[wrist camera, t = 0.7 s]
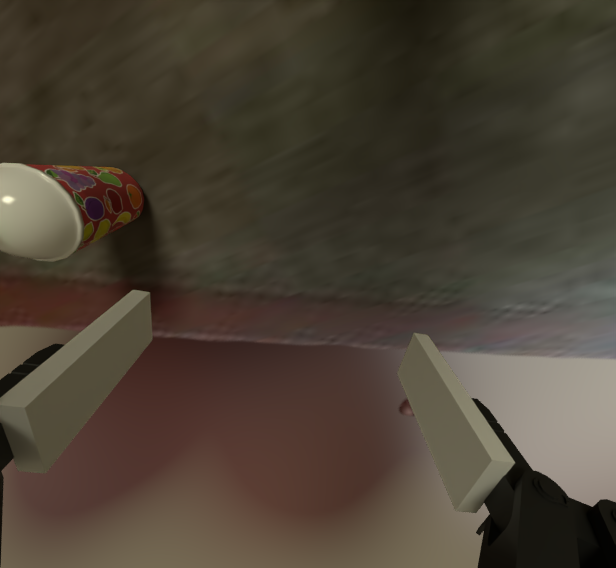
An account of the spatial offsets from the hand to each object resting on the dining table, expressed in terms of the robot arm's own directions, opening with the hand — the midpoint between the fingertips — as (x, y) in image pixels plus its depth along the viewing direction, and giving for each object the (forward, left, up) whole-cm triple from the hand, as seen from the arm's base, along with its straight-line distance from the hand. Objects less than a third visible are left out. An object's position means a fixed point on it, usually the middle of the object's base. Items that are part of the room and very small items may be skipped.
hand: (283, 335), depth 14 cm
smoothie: (-3, -23, -27) cm, 35 cm away
